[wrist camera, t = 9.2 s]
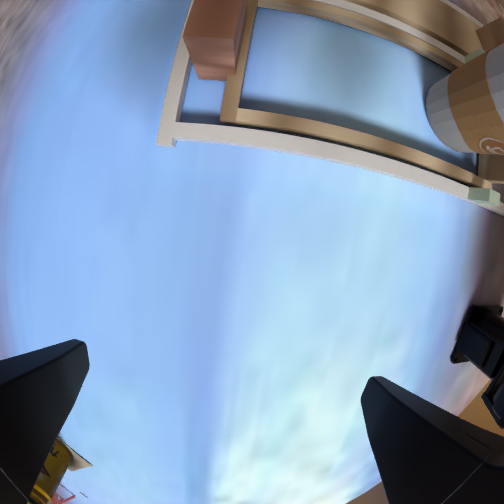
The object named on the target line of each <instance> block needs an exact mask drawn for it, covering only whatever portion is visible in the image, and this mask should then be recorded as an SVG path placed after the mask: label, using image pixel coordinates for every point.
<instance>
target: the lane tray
mask: <svg viewBox="0 0 504 504" xmlns="http://www.w3.org/2000/svg"><path fill="white" fill-rule="evenodd" d="M311 1H315V2H319V3H323V4H327V5H331V6H335V7H338V8H342V9H345V10H348V11H352V12H355V13H358V14H361V15H364V16H366V17H369V18H372V19H375V20H377V21H380V22H382V23H385V24H387V25H390V26H392V27H395V28H397V29H399V30H401V31H404V32H406V33H408V34H410V35H412V36H414V37H416V38H418V39H420V40H422V41H424V42H426V43H428V44H430V45H432V46H434V47H436V48H437V49H439V50H441V51H443V52H445V53H446V54H448V55H450V56H451V57H453V58H455V59H456V60H458V61H459V62H461V63H463V64H465V63H467V62H469V61H470V60H472V59H474V58H476V57H477V56H479V55H481V54H482V53H484V52H485V51H483V50H482V49H479V50H477V51H475V52H473V53H471V54H469V55H466V56H463V55H461V54H460V53H458V52H457V51H455V50H453V49H452V48H450V47H449V46H447V45H445V44H443V43H442V42H440V41H438V40H436V39H435V38H433V37H431V36H429V35H427V34H425V33H423V32H421V31H419V30H417V29H415V28H413V27H411V26H409V25H407V24H405V23H403V22H401V21H398V20H396V19H394V18H391V17H389V16H387V15H384V14H382V13H379V12H376V11H374V10H371V9H368V8H366V7H363V6H360V5H357V4H354V3H351V2H348V1H344V0H311ZM440 1H442V2H443V3H445V4H447V5H448V6H450V7H452V8H453V9H455V10H456V11H458V12H459V13H461V14H462V15H464V16H465V17H467V18H468V19H469V20H471V21H472V22H474V23H475V24H476V25H478V26H479V27H480V28H481V27H483V26H484V25H483V24H482V23H480V22H479V21H478V20H476V19H475V18H474V17H472V16H471V15H469V14H468V13H467V12H465V11H464V10H462V9H461V8H459V7H458V6H456V5H455V4H453V3H452V2H450V1H448V0H440ZM193 2H194V0H192V2H191V5H190V8H189V11H188V14H187V17H186V20H185V23H184V26H183V30H182V33H181V36H180V40H179V43H178V47H177V50H176V54H175V58H174V62H173V65H172V69H171V74H170V78H169V82H168V86H167V91H166V95H165V100H164V105H163V110H162V115H161V120H160V126H159V132H158V137H157V144H158V145H159V146H161V147H176V142H177V140H180V141H194V142H205V143H216V144H225V145H234V146H242V147H250V148H257V149H264V150H271V151H277V152H283V153H289V154H295V155H301V156H306V157H311V158H316V159H321V160H326V161H331V162H335V163H340V164H344V165H349V166H353V167H357V168H361V169H365V170H369V171H373V172H377V173H381V174H385V175H388V176H392V177H395V178H399V179H402V180H406V181H409V182H412V183H416V184H419V185H422V186H425V187H428V188H431V189H434V190H437V191H440V192H443V193H446V194H449V195H452V196H454V197H457V198H460V199H463V200H465V201H468V202H470V203H473V204H476V205H478V206H481V207H483V208H485V209H488V210H490V211H493V212H495V213H497V214H500V215H502V216H504V203H502V202H500V193H498V192H496V191H494V190H492V189H489V188H473V187H467V186H465V185H462V184H460V183H458V182H455V181H453V180H450V179H447V178H445V177H442V176H440V175H437V174H434V173H431V172H429V171H426V170H423V169H420V168H417V167H414V166H411V165H408V164H405V163H402V162H399V161H396V160H392V159H389V158H386V157H382V156H379V155H375V154H372V153H368V152H364V151H361V150H357V149H353V148H349V147H345V146H341V145H336V144H332V143H328V142H323V141H318V140H313V139H309V138H303V137H298V136H293V135H287V134H281V133H275V132H269V131H262V130H255V129H247V128H239V127H231V126H221V125H210V124H198V123H182V122H180V119H181V113H182V108H183V103H184V98H185V93H186V88H187V83H188V79H189V74H190V70H191V66H192V60H191V57H190V55H189V52H188V50H187V47H186V45H185V42H184V40H183V37H182V36H183V33H184V30H185V26H186V23H187V20H188V17H189V14H190V11H191V8H192V5H193Z"/></svg>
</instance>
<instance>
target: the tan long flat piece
mask: <svg viewBox="0 0 504 504" xmlns="http://www.w3.org/2000/svg"><path fill="white" fill-rule="evenodd" d="M344 1H348V2H351V3H354V4H357V5H360V6H363V7H366V8H368V9H371V10H374V11H376V12H379V13H382V14H384V15H387V16H389V17H391V18H394V19H396V20H398V21H401V22H403V23H405V24H407V25H409V26H411V27H413V28H415V29H417V30H419V31H421V32H423V33H425V34H427V35H429V36H431V37H433V38H435V39H436V40H438V41H440V42H442V43H443V44H445V45H447V46H449V47H450V48H452V49H453V50H455V51H457V52H458V53H460V54H461V55H463V56H466V55H469V54H471V53H473V52H475V51H477V50H479V49H482V50H483V48H482V46H481V43H480V41H479V38H478V36H477V34H476V30H478V29H480V27H479V26H478V25H476V24H475V23H474V22H472V21H471V20H469V19H468V18H467V17H465V16H464V15H462V14H461V13H459V12H458V11H456V10H455V9H453V8H452V7H450V6H448V5H447V4H445V3H443V2H442V1H440V0H344Z"/></svg>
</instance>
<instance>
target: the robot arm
mask: <svg viewBox="0 0 504 504" xmlns="http://www.w3.org/2000/svg"><path fill="white" fill-rule="evenodd" d="M502 312H503V307H502V306H500V305H472V306H471V307H470V310H469V313H468V316H467V318H466V321H465V324H464V327H463V330H462V332H461V335H460V337H459V340H458V342H457V345H456V347H455V350H454V352H453V354H452V357H451V359H450V361H451V362H452V363H453V364H455V363H462V362H468V361H470V362H472V363H473V364H474V365H475V366H476V367H477V368H478V369H480V370H481V371H482V372H483V373H484V374H485V375H486V376H487V377H489V378H490V379H491V380H492V381H491V383H490V385H489V386H488V388H487V389H486V391H485V392H484V393H483V394H482V396H481V397H482V399H483V401H484V403H485V405H486V406H487V408H488V409H489V411H490V413H491V414H492V416H493V418H494V419H495V421H496V423H497V424H498V425H499V427H500V428H501V429H504V318H503V317H502V316H501V315H502ZM88 370H89V357H88V351H87V346H86V343H85V342H83V341H80V340H77V339H72V340H69V341H66V342H62V343H59V344H56V345H52V346H49V347H46V348H42V349H39V350H35V351H32V352H29V353H25V354H22V355H18V356H15V357H11V358H8V359H4V360H0V504H27V503H28V500H29V497H30V495H31V492H32V490H33V488H34V485H35V483H36V481H37V478H38V476H39V474H40V472H41V469H42V467H43V465H44V463H45V461H46V459H47V457H48V455H49V452H50V450H51V448H52V446H53V444H54V442H55V440H56V438H57V436H58V434H59V432H60V430H61V429H62V427H63V425H64V423H65V421H66V419H67V417H68V415H69V413H70V412H71V410H72V408H73V406H74V404H75V401H76V399H77V397H78V394H79V392H80V389H81V387H82V384H83V382H84V380H85V377H86V375H87V373H88ZM361 406H362V410H363V415H364V419H365V424H366V429H367V434H368V438H369V441H370V445H371V448H372V451H373V454H374V457H375V460H376V463H377V466H378V470H379V473H380V476H381V479H382V483H383V486H384V489H385V492H386V496H387V499H388V503H389V504H504V437H503V436H500V435H498V434H495V433H492V432H490V431H487V430H485V429H482V428H480V427H478V426H476V425H473V424H471V423H469V422H467V421H465V420H463V419H460V418H459V417H457V416H455V415H453V414H451V413H449V412H447V411H445V410H444V409H442V408H440V407H438V406H436V405H434V404H432V403H430V402H428V401H426V400H424V399H423V398H421V397H419V396H417V395H415V394H413V393H411V392H410V391H408V390H406V389H404V388H402V387H400V386H399V385H397V384H395V383H393V382H391V381H390V380H388V379H386V378H384V377H382V376H374V377H370V378H369V380H368V382H367V384H366V386H365V389H364V391H363V393H362V396H361Z"/></svg>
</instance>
